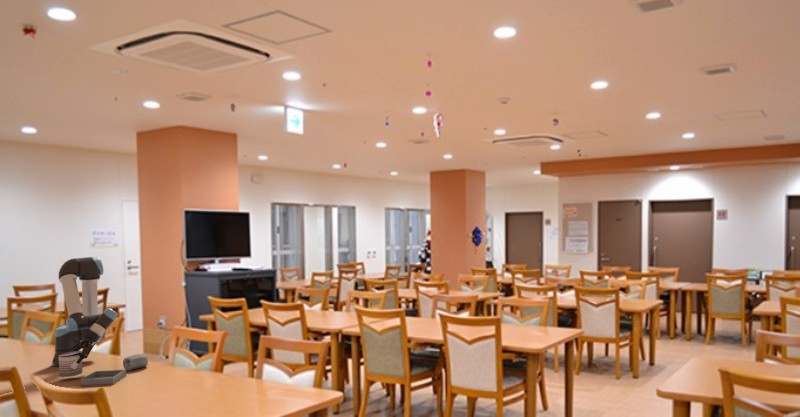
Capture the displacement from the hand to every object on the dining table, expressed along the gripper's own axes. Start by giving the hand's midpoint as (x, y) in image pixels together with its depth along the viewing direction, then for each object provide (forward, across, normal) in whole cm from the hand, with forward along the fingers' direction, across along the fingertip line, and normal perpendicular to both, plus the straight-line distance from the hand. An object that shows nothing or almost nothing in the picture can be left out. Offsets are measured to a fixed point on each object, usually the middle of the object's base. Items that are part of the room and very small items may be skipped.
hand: (67, 366), depth 321 cm
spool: (-17, -13, -28) cm, 35 cm away
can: (+2, 0, -5) cm, 5 cm away
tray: (-2, -21, -12) cm, 24 cm away
